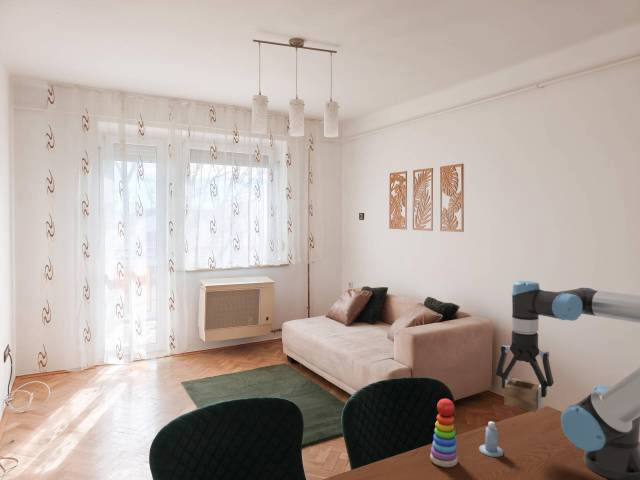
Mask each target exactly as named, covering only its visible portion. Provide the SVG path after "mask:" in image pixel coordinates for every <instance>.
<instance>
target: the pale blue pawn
mask: <svg viewBox="0 0 640 480" xmlns="http://www.w3.org/2000/svg"><path fill="white" fill-rule="evenodd" d="M487 423H488V426H486V427H485V439H484V441H485V442H484V444H481V445H480V446H479V449H478V450H479V451H480V453H481V454H483V455H485V456H487V457H491V458H499V457H502V456H503V455H504V450H503V449H502V448H501V447H500V446H499V445H498V438H499V437H498V435H499V434H498V433H499V430H498V428H497V427H496V422H494V421H488V422H487Z"/></svg>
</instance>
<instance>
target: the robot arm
mask: <svg viewBox="0 0 640 480" xmlns="http://www.w3.org/2000/svg"><path fill="white" fill-rule="evenodd" d="M511 297H512V298H511V300H512V301H511V303H512V305H511V306H512V312H511V314H512V315H511V316H512V317H511V329H512V331H511V344H510V345H506V344H503V345H502V346H500V357H499V361H498V364H497V369H496V372H495V376H497V377H500V378H501V388H502V389H504V386H505V385H506V384H507V383H508V382H509V381H510V380H511V377H509V375H510V373H511V372H512V371H513V368H514V367H515V365H516V364H517V362H525V363H529V364H530V366H531V367H532V370H533V372H534V373H535V376H536V378H537V380H538V383H540V385H539V387H538V409H541V408H542V407H543V406H544V405H543V404H544V398H546V397H547V392H548V389H547V388H548V387H550V388H551V387H552V386H553V385H554V378H553V374H552V369H551V364H550V352H549V351H543V350H540V349H539V333H538V331H539V316H543V317H549V318H551V319H553V318H554V319H558V320H561V321H571V322H572V321H573V322H574V321H577V320H578V319H579V317H581V315H588V316H593V317H594V316H595V317H599V318H600V317H602V318H607V319H613V320H620V321H624V322H625V321H627V322H632V323H639V324H640V295H638V294H629V293H622V292H613V291H611V292H610V291H602V290H595V289H593V288H590V287H579V288H575V289H569V290H561V291H549V290H543V289H541V288H540V283H539V282H538V281H537V282H536V281H531V280H518V281H514V283H513V286H512V293H511ZM509 352H511V353H512V355H513V357H512V359H511V360H510V362H509V363H508V365H507V367H506V368H505V363H506V359H507V356H508V353H509ZM538 356H540V359H541V360H542V366H543V370H542V369H541V367H540V365H539V362H538V360H537V357H538ZM504 368H505V370H504ZM542 371H544V374H543V372H542ZM560 422H561V424H560V425H561V426H560V427H561V429H562V431H563V433H564V435H565V437H566V438H567V440H568V441H569V442H570V443H571V444H572V445H574V446H575V447H576V448H578V449H581V450H583V451H584V452H583V463H584V465H585V466H586V468H588V469H589V470H591V472H594V473H596V474H597V475H600V476H601V477H605V478H608V479H610V480H640V367H639V368H637V369H635V370H634V371H632V372H631V373H630V374H628V376H626V377H624V378H622V379H621V380H620V381H618V382H617V383H616V384H614V385H613V386H609V385H608V386H607V385H596V386H594V387H593V390H592V392H591V393H590V394H588V395H587V396H586V397H584V398H582V400H579V402H577V403H575V404H572V405H569V406H567V407H566V408H565V409H564V410H562V413H561V415H560Z"/></svg>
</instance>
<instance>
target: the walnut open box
mask: <svg viewBox="0 0 640 480" xmlns="http://www.w3.org/2000/svg"><path fill="white" fill-rule="evenodd" d="M539 385H540V382H537V381H531V380H526V379H520V378H516V377H512V378H510V381H509V382H508V383H507V384H506V385H505V386H504V390H503V391H504V392H503V393H504V394H503V395H504V397H503V398H504V399H503V400H504V401H503V405H505V406H509V407H513V408H517V409H520V410H524V411H529V412H533V413H536V412H537V411H538V409H539V408H538V387H539Z"/></svg>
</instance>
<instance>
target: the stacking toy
mask: <svg viewBox="0 0 640 480" xmlns="http://www.w3.org/2000/svg"><path fill="white" fill-rule="evenodd" d="M455 408H456V407H455V405H454V402H453V401H452V400H450V399H449V398H441V399H439V401H438V402H437V405H436V409H437V412H438V414H437V416H436V422H435V423H434V425H435V428H434V434H433V441H432V446H431V448H430V455H429V456H430V457H429V459H430V460H431V462H432V463H433V464H435V465H436V466H439V467H443V468H451V467H455V466H456V465H457V464H458V462H459V459H458V456H457V455H458V452H457V449H458V446H457V438H456V430H455V424H454V422H455V417H454V416H453V414H454V413H455Z"/></svg>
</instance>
